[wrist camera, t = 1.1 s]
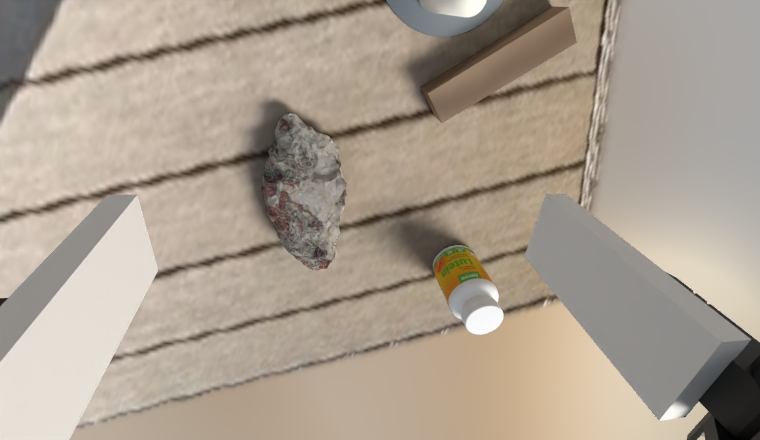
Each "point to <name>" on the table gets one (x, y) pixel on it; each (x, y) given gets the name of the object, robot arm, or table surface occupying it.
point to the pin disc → (439, 18)
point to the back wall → (500, 63)
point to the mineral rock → (304, 191)
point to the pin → (453, 7)
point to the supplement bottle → (468, 289)
